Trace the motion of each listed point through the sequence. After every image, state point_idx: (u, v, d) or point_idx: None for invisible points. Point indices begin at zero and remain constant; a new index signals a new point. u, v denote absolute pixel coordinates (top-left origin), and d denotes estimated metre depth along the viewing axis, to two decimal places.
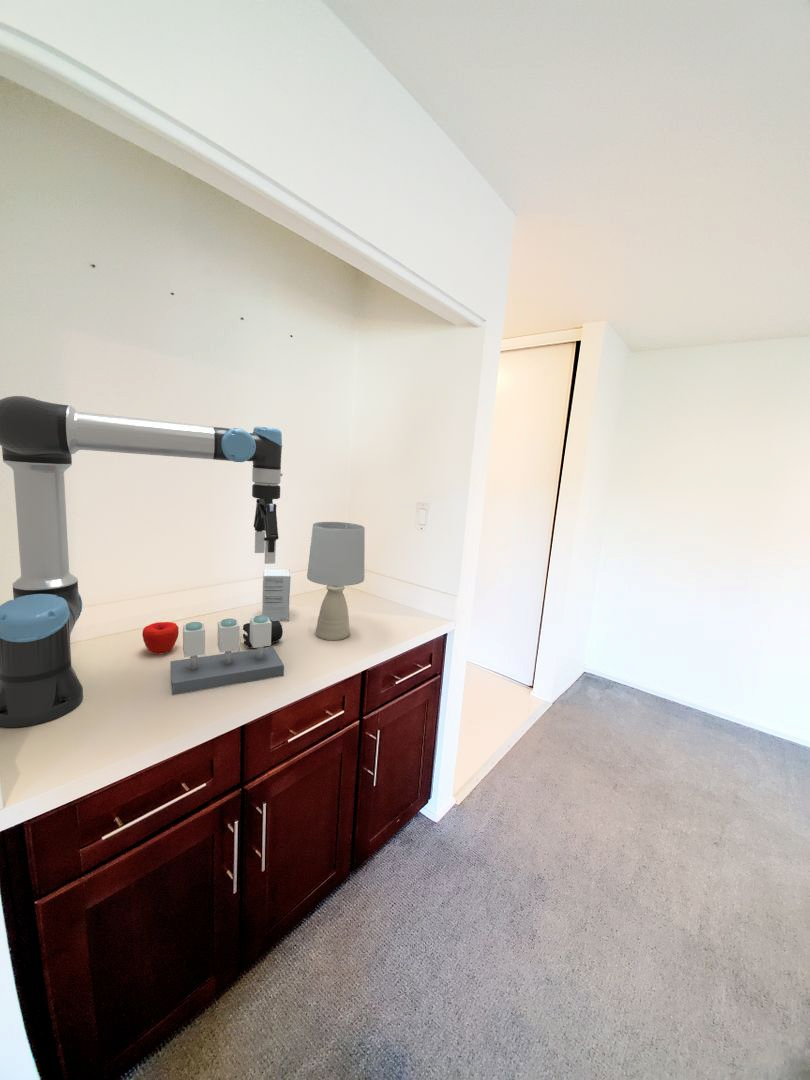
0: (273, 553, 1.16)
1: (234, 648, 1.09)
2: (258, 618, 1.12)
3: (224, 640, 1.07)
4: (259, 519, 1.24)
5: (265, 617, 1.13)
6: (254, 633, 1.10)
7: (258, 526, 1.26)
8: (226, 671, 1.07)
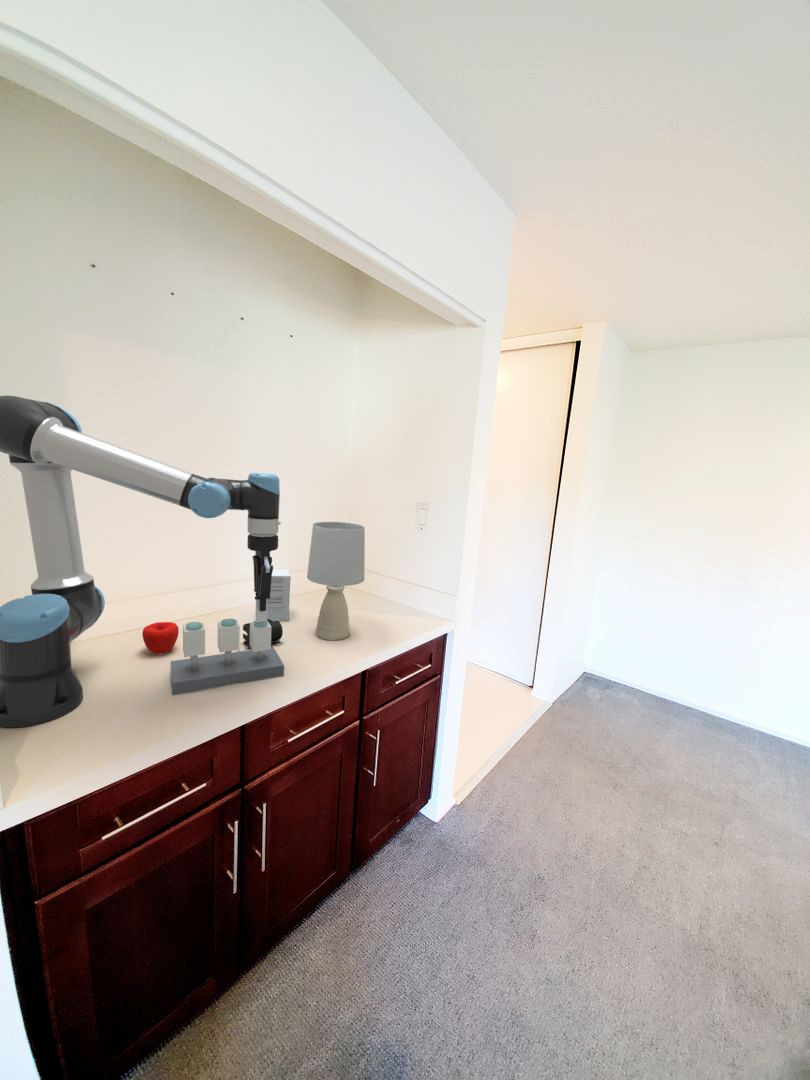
0: (265, 611, 1.12)
1: (234, 648, 1.09)
2: (258, 622, 1.12)
3: (224, 640, 1.07)
4: (258, 576, 1.11)
5: None
6: (254, 637, 1.11)
7: None
8: (226, 671, 1.07)
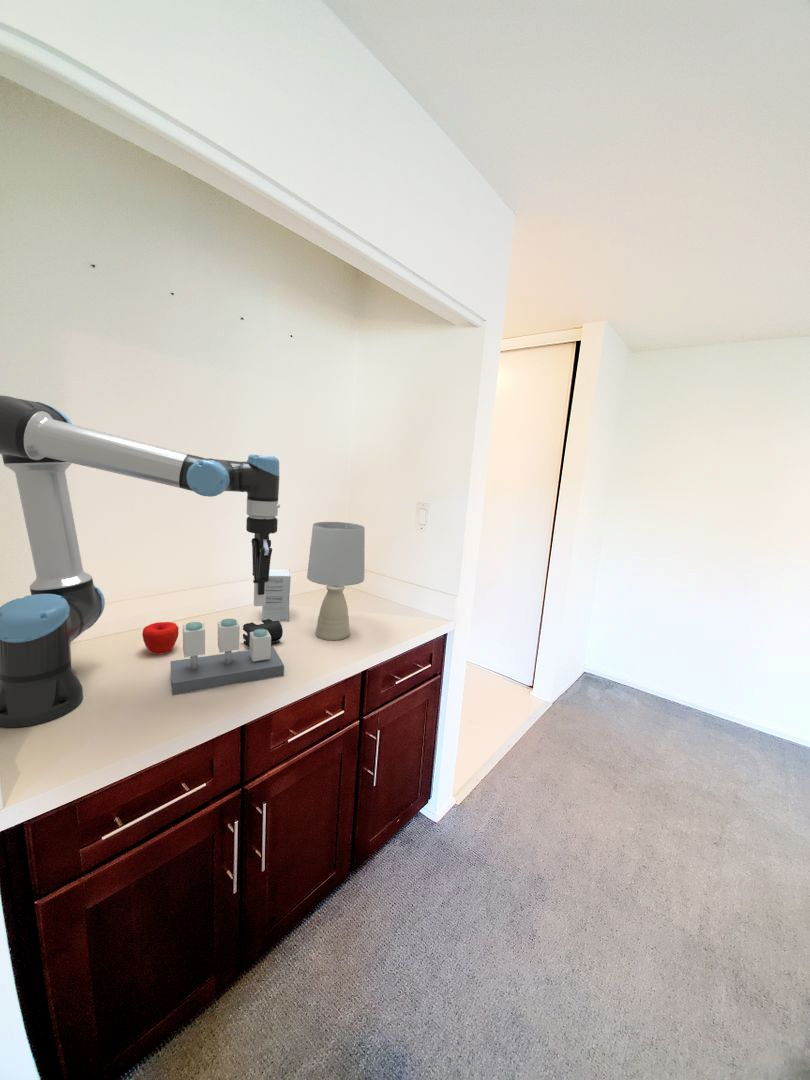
0: (263, 595, 1.11)
1: (234, 648, 1.09)
2: (258, 632, 1.13)
3: (224, 640, 1.07)
4: (257, 559, 1.10)
5: (265, 631, 1.14)
6: (254, 647, 1.11)
7: None
8: (226, 671, 1.07)
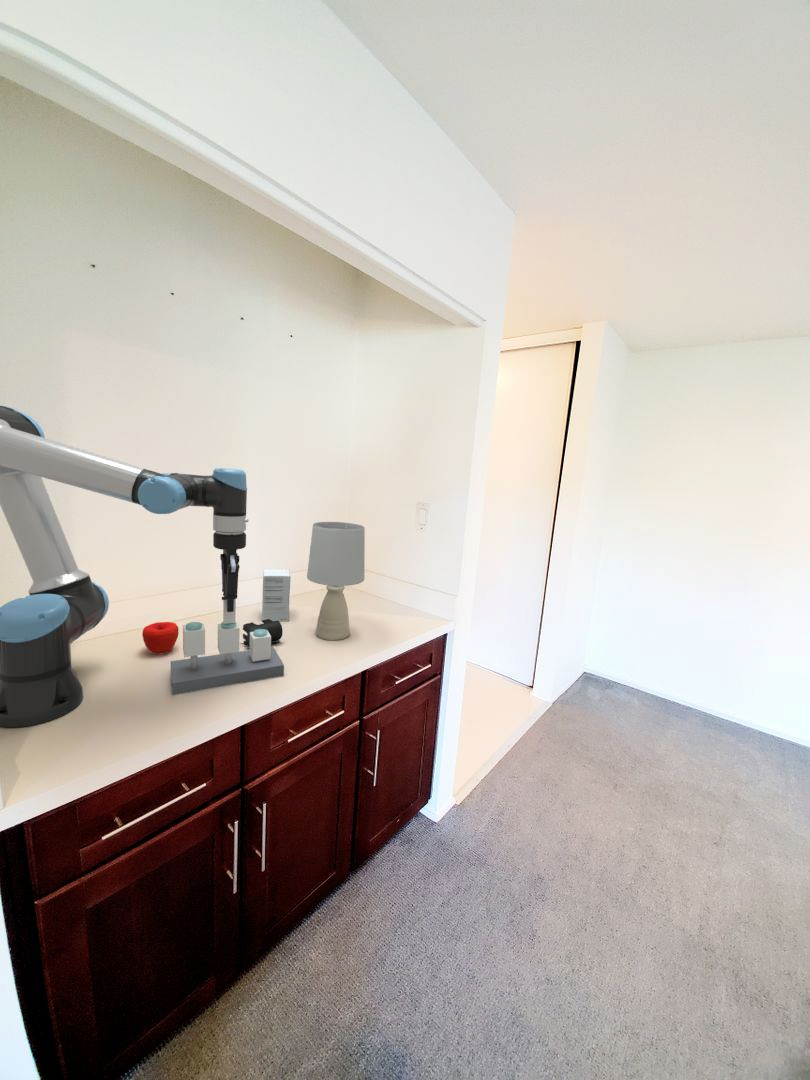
0: (233, 612, 1.08)
1: (234, 650, 1.09)
2: (258, 632, 1.13)
3: (224, 642, 1.07)
4: None
5: (265, 631, 1.14)
6: (254, 647, 1.11)
7: None
8: (226, 671, 1.07)
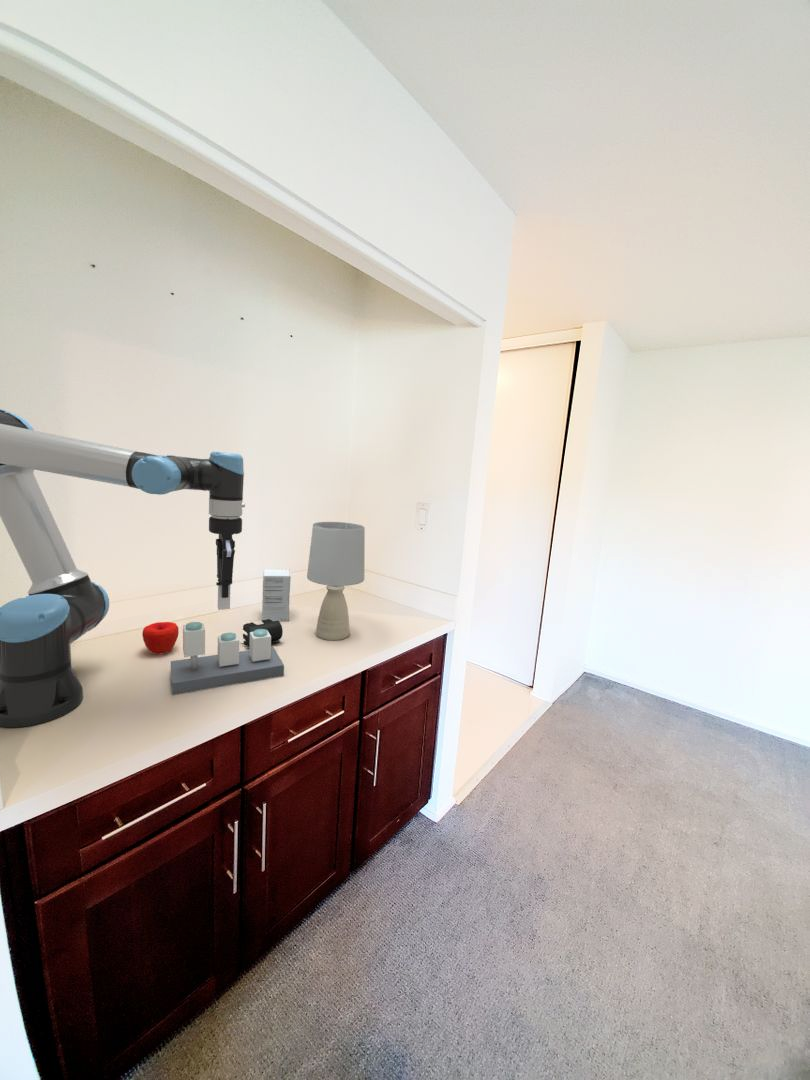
0: (227, 598, 1.07)
1: (234, 662, 1.09)
2: (258, 632, 1.13)
3: (223, 654, 1.08)
4: None
5: (265, 631, 1.14)
6: (254, 647, 1.11)
7: None
8: (226, 671, 1.07)
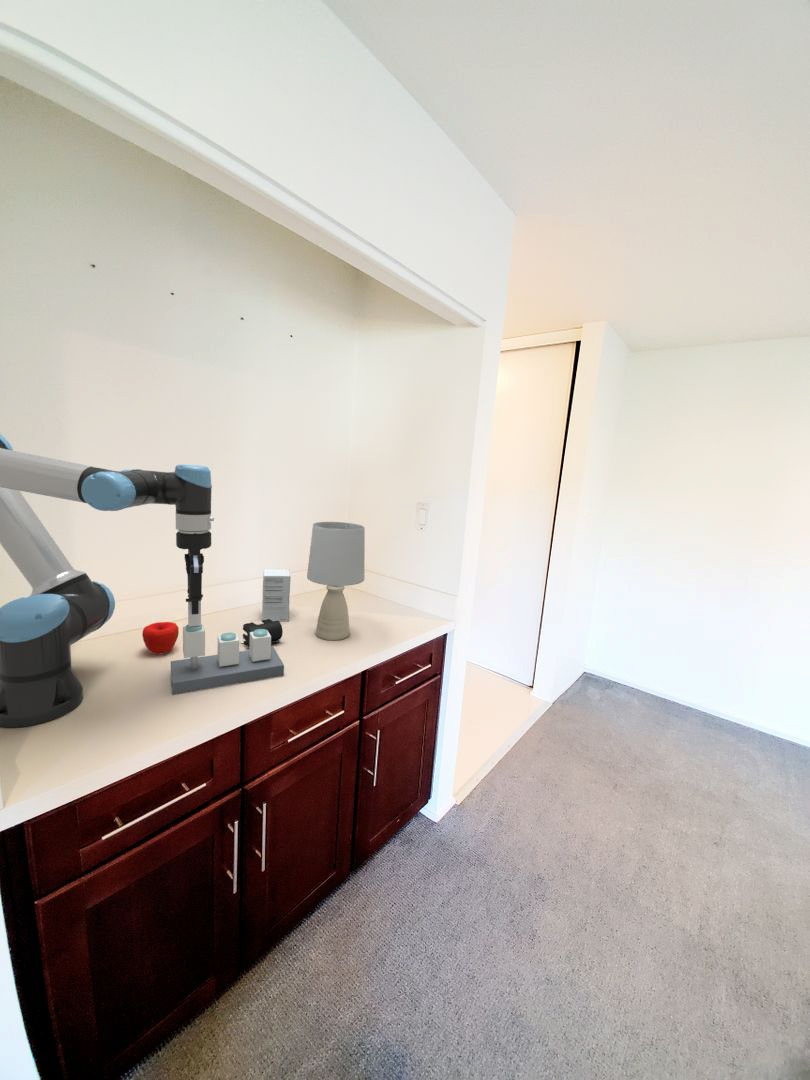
0: (198, 614, 1.04)
1: (234, 662, 1.09)
2: (258, 632, 1.13)
3: (223, 654, 1.08)
4: None
5: (265, 631, 1.14)
6: (254, 647, 1.11)
7: None
8: (226, 671, 1.07)
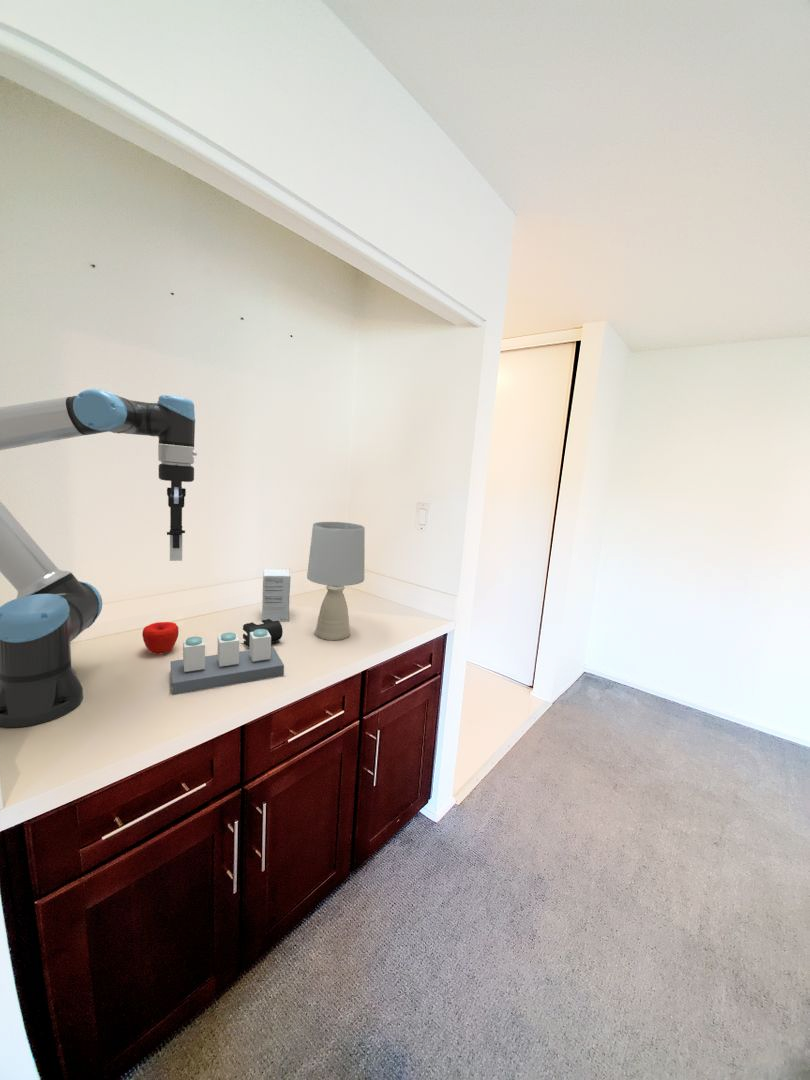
0: (179, 549, 1.05)
1: (234, 662, 1.09)
2: (258, 632, 1.13)
3: (223, 654, 1.08)
4: None
5: (265, 631, 1.14)
6: (254, 647, 1.11)
7: None
8: (226, 671, 1.07)
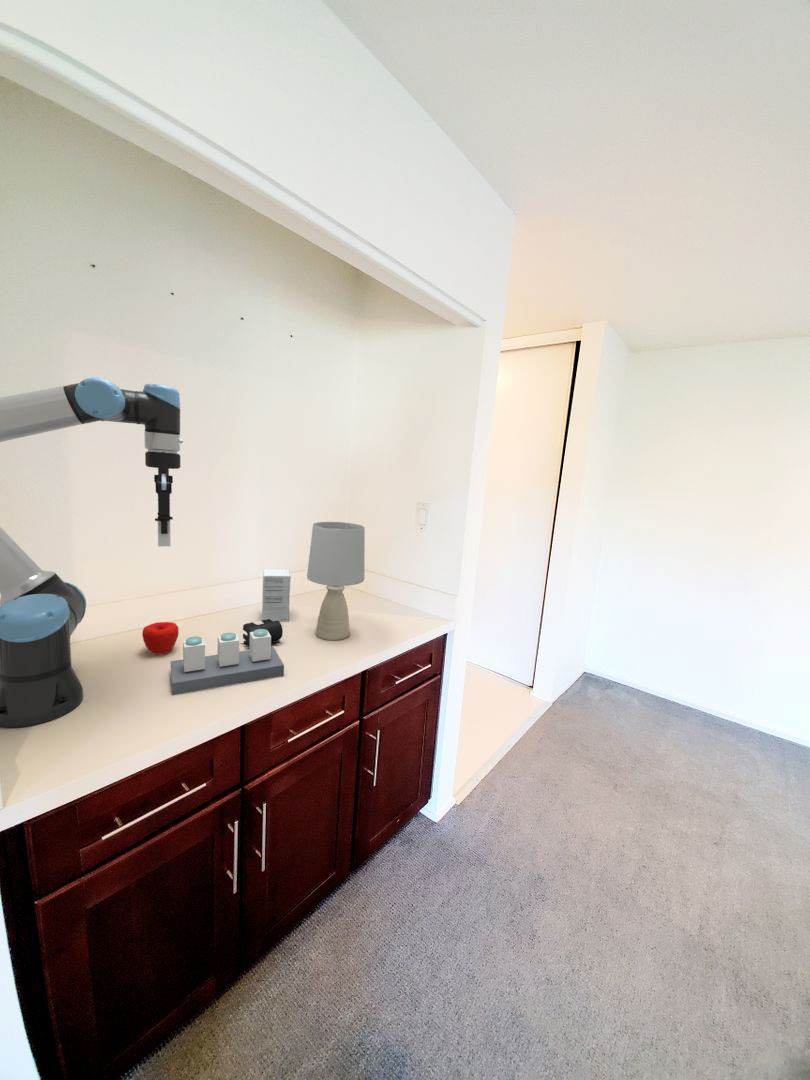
0: (167, 535, 1.07)
1: (234, 662, 1.09)
2: (258, 632, 1.13)
3: (223, 654, 1.08)
4: None
5: (265, 631, 1.14)
6: (254, 647, 1.11)
7: None
8: (226, 671, 1.07)
